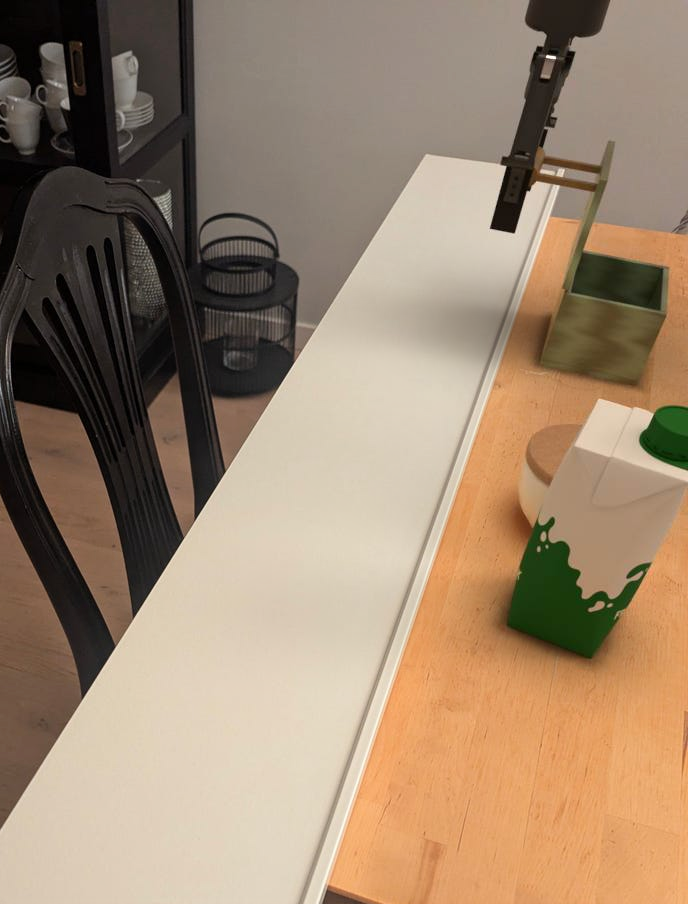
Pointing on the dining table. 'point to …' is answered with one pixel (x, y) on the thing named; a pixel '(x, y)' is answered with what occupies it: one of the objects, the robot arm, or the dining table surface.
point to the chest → (608, 318)
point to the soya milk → (601, 524)
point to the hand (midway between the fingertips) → (510, 208)
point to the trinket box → (543, 465)
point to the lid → (595, 188)
